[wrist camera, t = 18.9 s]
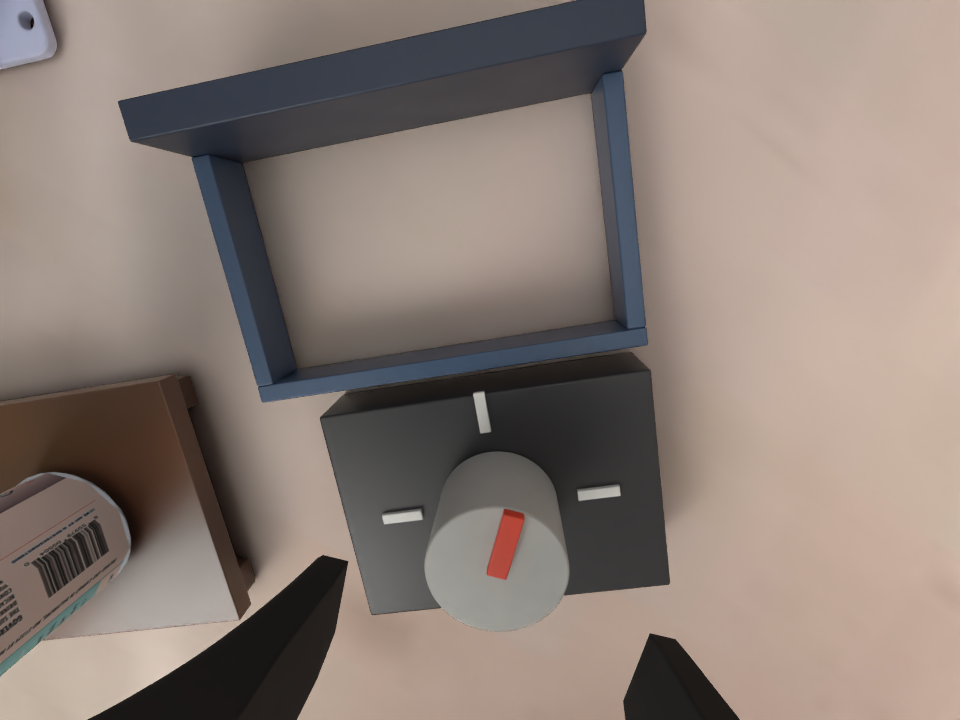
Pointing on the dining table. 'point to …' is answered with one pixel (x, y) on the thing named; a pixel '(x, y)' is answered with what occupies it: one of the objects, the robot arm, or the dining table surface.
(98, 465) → the square wooden board
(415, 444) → the panel
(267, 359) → the bin
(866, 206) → the dining table surface
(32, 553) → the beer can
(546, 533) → the dial
